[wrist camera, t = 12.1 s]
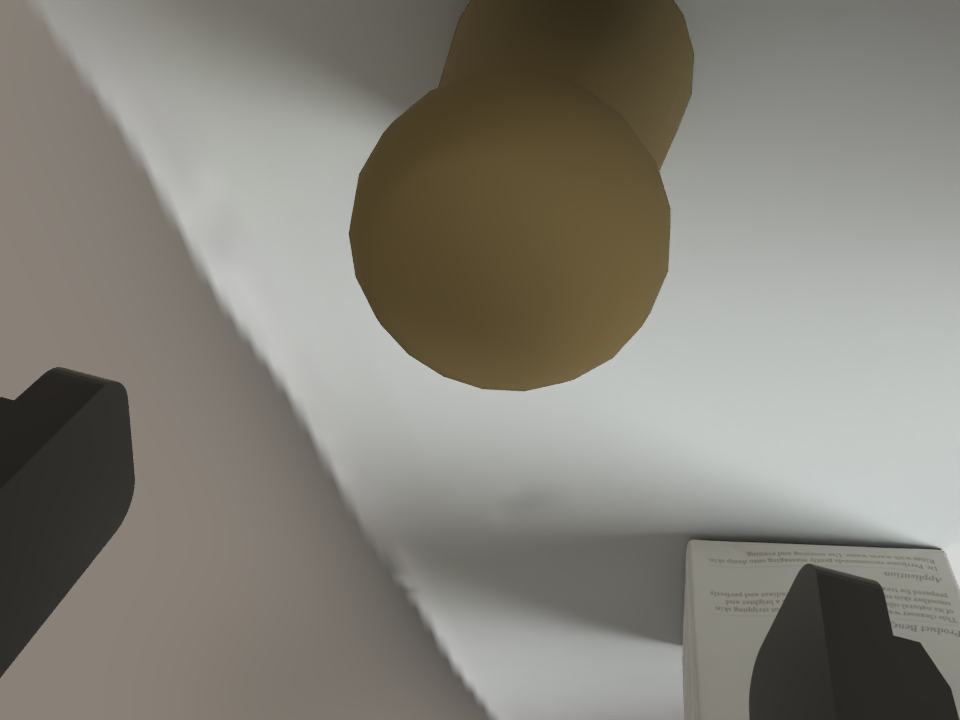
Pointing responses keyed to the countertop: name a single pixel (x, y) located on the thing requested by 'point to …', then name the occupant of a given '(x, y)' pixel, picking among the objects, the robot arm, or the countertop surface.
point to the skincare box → (761, 592)
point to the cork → (528, 191)
